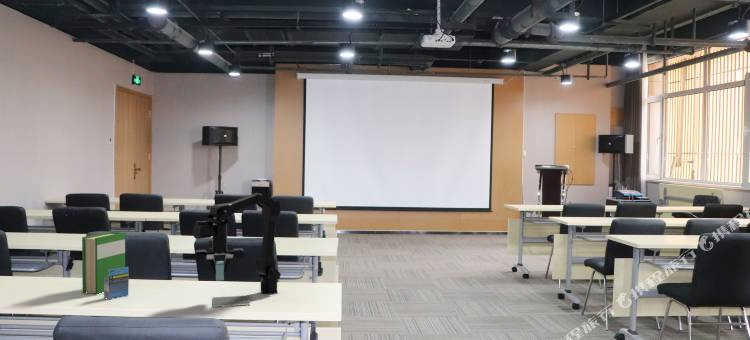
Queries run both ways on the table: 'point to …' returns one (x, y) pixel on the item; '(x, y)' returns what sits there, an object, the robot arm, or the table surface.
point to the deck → (219, 270)
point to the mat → (231, 301)
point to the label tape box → (116, 283)
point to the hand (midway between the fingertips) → (219, 274)
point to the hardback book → (101, 259)
